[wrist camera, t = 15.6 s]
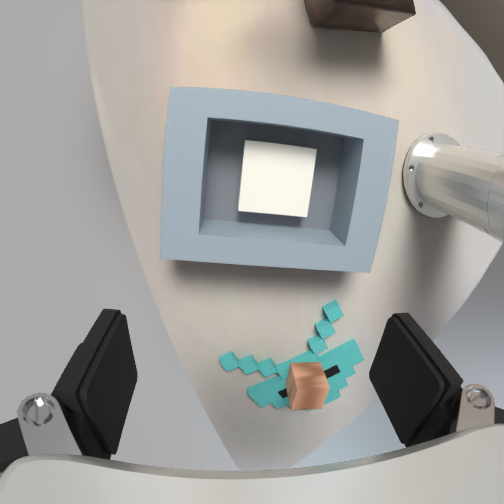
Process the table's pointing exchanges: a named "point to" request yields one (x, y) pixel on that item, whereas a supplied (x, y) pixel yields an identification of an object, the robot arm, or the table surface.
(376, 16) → the brown manual coffee grinder
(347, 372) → the alien figure
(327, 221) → the slot box
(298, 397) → the terracotta cube
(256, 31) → the table surface
